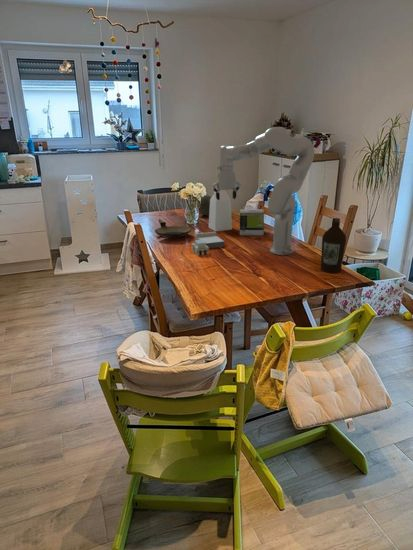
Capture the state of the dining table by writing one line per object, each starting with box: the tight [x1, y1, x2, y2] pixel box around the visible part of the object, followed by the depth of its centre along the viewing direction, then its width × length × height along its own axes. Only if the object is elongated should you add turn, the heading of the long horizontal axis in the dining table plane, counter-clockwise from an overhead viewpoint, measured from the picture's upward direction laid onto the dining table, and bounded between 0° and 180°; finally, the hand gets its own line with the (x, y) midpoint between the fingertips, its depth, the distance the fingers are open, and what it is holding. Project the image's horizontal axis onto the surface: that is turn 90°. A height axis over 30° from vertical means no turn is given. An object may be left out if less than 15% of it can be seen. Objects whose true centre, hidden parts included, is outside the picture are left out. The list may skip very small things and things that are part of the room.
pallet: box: [191, 242, 210, 256], centre depth 215 cm, size 10×6×4 cm, turn 19°
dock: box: [196, 231, 225, 249], centre depth 228 cm, size 14×12×5 cm
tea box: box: [239, 208, 265, 236], centre depth 246 cm, size 15×10×15 cm
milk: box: [208, 190, 233, 232], centre depth 257 cm, size 12×12×26 cm
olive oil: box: [320, 217, 347, 274], centre depth 184 cm, size 11×11×25 cm
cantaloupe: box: [198, 195, 212, 217], centre depth 293 cm, size 14×14×15 cm
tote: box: [194, 239, 206, 247], centre depth 213 cm, size 6×4×2 cm
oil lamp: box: [154, 218, 192, 239], centre depth 245 cm, size 22×30×8 cm
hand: (226, 199), depth 226 cm, fingers open, 9 cm apart
